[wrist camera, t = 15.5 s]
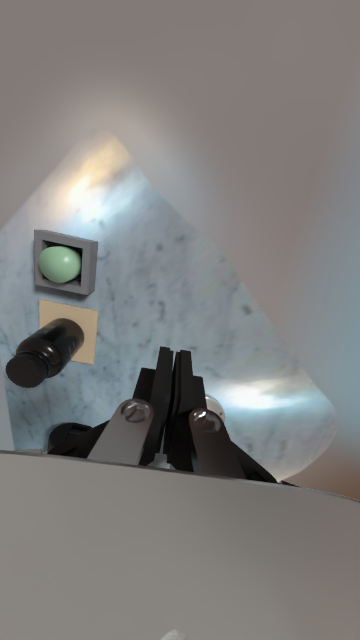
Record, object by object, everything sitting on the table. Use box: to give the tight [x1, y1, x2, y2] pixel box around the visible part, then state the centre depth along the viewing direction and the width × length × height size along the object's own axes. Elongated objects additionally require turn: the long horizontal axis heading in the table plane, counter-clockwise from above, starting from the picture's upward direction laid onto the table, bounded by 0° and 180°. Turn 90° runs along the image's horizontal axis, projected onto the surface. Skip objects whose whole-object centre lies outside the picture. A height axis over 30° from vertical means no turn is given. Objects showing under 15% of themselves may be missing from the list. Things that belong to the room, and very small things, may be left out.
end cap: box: [47, 423, 92, 452], centre depth 46 cm, size 10×7×7 cm
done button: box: [39, 246, 82, 283], centre depth 33 cm, size 5×5×3 cm
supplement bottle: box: [6, 318, 84, 388], centre depth 34 cm, size 7×7×12 cm
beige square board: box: [39, 299, 99, 364], centre depth 40 cm, size 11×10×1 cm
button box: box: [34, 230, 98, 295], centre depth 34 cm, size 8×8×3 cm
